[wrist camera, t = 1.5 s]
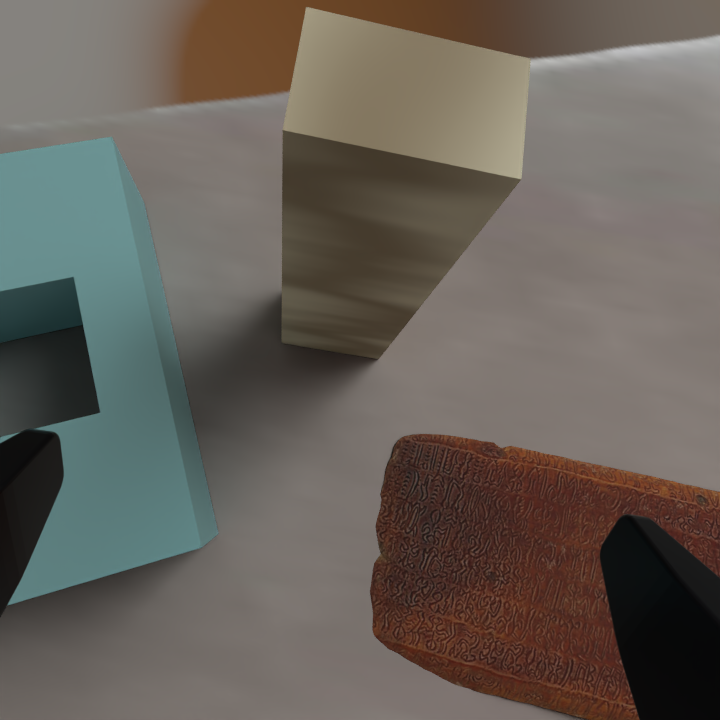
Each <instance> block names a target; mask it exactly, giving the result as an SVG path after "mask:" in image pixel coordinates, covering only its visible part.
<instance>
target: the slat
mask: <svg viewBox="0 0 720 720" xmlns="http://www.w3.org/2000/svg"><path fill="white" fill-rule="evenodd" d="M530 60H531V59H529V58H524V57H520V56H516V55H511V54H507V53H502V52H498V51H494V50H490V49H485V48H481V47H477V46H472V45H468V44H463V43H459V42H455V41H451V40H446V39H442V38H438V37H433V36H429V35H425V34H421V33H416V32H412V31H408V30H403V29H399V28H394V27H390V26H386V25H381V24H377V23H373V22H369V21H364V20H360V19H356V18H351V17H347V16H343V15H338V14H334V13H330V12H325V11H321V10H317V9H312V8H308V7H307V8H306V12H305V17H304V23H303V28H302V34H301V38H300V43H299V48H298V54H297V59H296V64H295V69H294V74H293V80H292V85H291V90H290V95H289V100H288V105H287V110H286V116H285V121H284V126H283V173H282V343H284V344H290V345H296V346H302V347H308V348H314V349H320V350H326V351H332V352H338V353H344V354H350V355H356V356H362V357H368V358H374V359H379V358H380V357H381V356H382V354H383V353H384V352H385V351H386V349H387V348H388V347H389V345H390V344H391V343H392V342H393V340H394V339H395V338H396V337H397V335H398V334H399V333H400V332H401V330H402V329H403V328H404V327H405V325H406V324H407V323H408V322H409V320H410V319H411V318H412V317H413V315H414V314H415V313H416V311H417V310H418V309H419V308H420V306H421V305H422V304H423V303H424V301H425V300H426V299H427V298H428V296H429V295H430V294H431V293H432V291H433V290H434V289H435V288H436V286H437V285H438V284H439V282H440V281H441V280H442V279H443V277H444V276H445V275H446V274H447V272H448V271H449V270H450V269H451V267H452V266H453V265H454V264H455V262H456V261H457V260H458V259H459V257H460V256H461V255H462V253H463V252H464V251H465V250H466V248H467V247H468V246H469V245H470V243H471V242H472V241H473V240H474V238H475V237H476V236H477V235H478V233H479V232H480V231H481V230H482V228H483V227H484V226H485V225H486V223H487V222H488V221H489V219H490V218H491V217H492V216H493V214H494V213H495V212H496V211H497V209H498V208H499V207H500V206H501V204H502V203H503V202H504V201H505V199H506V198H507V197H508V196H509V194H510V193H511V192H512V190H513V189H514V188H515V187H516V185H517V184H518V183H519V182H520V180H521V177H522V164H523V151H524V138H525V125H526V112H527V99H528V86H529V73H530Z"/></svg>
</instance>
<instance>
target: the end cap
mask: <svg viewBox="0 0 720 720" xmlns="http://www.w3.org/2000/svg"><path fill="white" fill-rule="evenodd" d="M81 325H83V327H84V332H85V337H86V342H87V347H88V352H89V357H90V362H91V368H92V373H93V378H94V383H95V388H96V393H97V398H98V403H99V408H100V413H97V414H93V415H89V416H85V417H81V418H76V419H72V420H68V421H64V422H60V423H56V424H52V425H48V426H44V427H40V428H35V429H38V430H45V431H52V432H55V433H57V434H58V436H59V438H60V442H61V450H62V459H63V467H64V478H63V483H62V486H61V489H60V491H59V494H58V496H57V498H56V501H55V503H54V505H53V508H52V510H51V512H50V515H49V517H48V519H47V522H46V524H45V526H44V529H43V531H42V533H41V535H40V538H39V540H38V542H37V545H36V547H35V549H34V552H33V554H32V556H31V559H30V561H29V563H28V566H27V568H26V570H25V572H24V574H23V577H22V579H21V581H20V583H19V585H18V586H17V588H16V590H15V592H14V594H13V596H12V598H11V599H10V601H9V603H8V605H11V604H14V603H17V602H21V601H24V600H27V599H31V598H34V597H37V596H41V595H44V594H47V593H51V592H54V591H58V590H61V589H64V588H68V587H71V586H74V585H78V584H81V583H84V582H88V581H91V580H95V579H98V578H101V577H105V576H108V575H111V574H115V573H118V572H121V571H125V570H128V569H131V568H135V567H138V566H142V565H145V564H148V563H152V562H155V561H158V560H162V559H165V558H168V557H172V556H175V555H179V554H182V553H185V552H189V551H192V550H195V549H199V548H202V547H203V546H204V545H205V544H207V543H208V542H209V541H210V540H212V539H213V538H214V537H215V536H216V535H218V529H217V525H216V520H215V516H214V512H213V507H212V503H211V498H210V494H209V489H208V485H207V480H206V476H205V471H204V467H203V463H202V458H201V454H200V449H199V445H198V440H197V436H196V431H195V427H194V422H193V418H192V414H191V409H190V405H189V400H188V396H187V391H186V387H185V382H184V378H183V374H182V369H181V365H180V360H179V356H178V351H177V347H176V342H175V338H174V333H173V329H172V325H171V320H170V316H169V311H168V307H167V302H166V298H165V293H164V289H163V285H162V280H161V276H160V271H159V267H158V262H157V258H156V253H155V249H154V244H153V240H152V236H151V231H150V227H149V222H148V218H147V213H146V209H145V204H144V201H143V199H142V197H141V195H140V193H139V191H138V189H137V187H136V185H135V183H134V181H133V179H132V177H131V175H130V173H129V171H128V169H127V167H126V165H125V163H124V161H123V158H122V156H121V154H120V152H119V150H118V148H117V146H116V144H115V142H114V140H113V138H112V137H107V138H101V139H94V140H88V141H81V142H75V143H69V144H62V145H56V146H49V147H43V148H36V149H30V150H23V151H17V152H10V153H4V154H0V343H1V342H6V341H11V340H15V339H20V338H25V337H29V336H34V335H39V334H43V333H48V332H53V331H57V330H62V329H67V328H71V327H76V326H81ZM19 433H20V432H19ZM16 434H18V433H15V434H11V435H7V436H3V437H0V443H1V442H3V441H5V440H7V439H9V438H11V437H12V436H14V435H16Z"/></svg>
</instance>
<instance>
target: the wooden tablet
mask: <svg viewBox="0 0 720 720" xmlns="http://www.w3.org/2000/svg"><path fill="white" fill-rule="evenodd" d="M380 495H381V499H382V501H381V509H380V512H379V515H378V518H377V522H376V532H377V538H378V544H379V549H380V552H381V555H380V556H379V558H378V559H377V560H376V562H375V563H374V568H373V574H372V582H371V589H370V595H371V602H372V608H373V633H374V635H375V637H376V638H377V639H378V640H379V641H380V642H381V643H383V644H384V645H385V646H386V647H387V648H388V649H390V650H392V651H394V652H396V653H398V654H400V655H401V656H403V657H404V658H406V659H408V660H409V661H411V662H413V663H415V664H417V665H419V666H420V667H422V668H423V669H425V670H428V671H430V672H432V673H434V674H436V675H438V676H439V677H441V678H443V679H445V680H447V681H449V682H451V683H453V684H455V685H458V686H462V687H465V688H470V689H472V690H474V691H478V692H481V693H485V694H490V695H496V696H500V697H504V698H507V699H511V700H515V701H519V702H524V703H529V704H533V705H537V706H540V707H543V708H547V709H551V710H555V711H559V712H562V713H566V714H569V715H573V716H576V717H581V718H585V719H588V720H639V717H638V714H637V710H636V707H635V704H634V701H633V697H632V694H631V691H630V687H629V684H628V681H627V678H626V674H625V671H624V668H623V664H622V661H621V657H620V654H619V650H618V646H617V642H616V637H615V633H614V628H613V623H612V618H611V613H610V608H609V603H608V598H607V593H606V588H605V583H604V578H603V573H602V568H601V563H600V549H601V546H602V544H603V542H604V541H605V539H606V537H607V536H608V534H609V533H610V531H611V530H612V528H613V526H614V525H615V523H616V522H617V520H618V519H619V518H620V517H621V516H623V515H624V514H631V515H638V516H645V517H648V518H650V519H652V520H653V521H654V522H655V523H656V524H658V525H659V526H660V527H661V528H662V529H663V530H665V531H666V532H667V533H668V534H669V535H670V536H672V537H673V538H674V539H675V540H676V541H678V542H679V543H680V544H681V545H682V546H683V547H685V548H686V549H687V550H688V551H689V552H690V553H692V554H693V555H694V556H695V557H696V558H697V559H699V560H700V561H701V562H702V563H703V564H705V565H706V566H707V567H708V568H709V569H710V570H712V571H713V572H714V573H715V574H716V575H717V576H719V577H720V492H717V491H712V490H707V489H703V488H699V487H695V486H690V485H685V484H680V483H677V482H673V481H668V480H664V479H660V478H656V477H652V476H647V475H642V474H637V473H633V472H628V471H623V470H619V469H614V468H610V467H605V466H601V465H595V464H590V463H586V462H581V461H576V460H572V459H568V458H564V457H560V456H554V455H549V454H543V453H540V452H536V451H531V450H526V449H522V448H518V447H513V446H508V447H505V448H500V447H498V446H497V445H496V444H495V443H492V442H483V441H478V440H473V439H467V438H461V437H455V436H447V435H431V434H416V435H409V436H405V437H402V438H401V439H400V440H399V441H398V442H397V443H396V445H395V446H394V450H393V454H392V458H391V459H390V461H389V462H388V465H387V468H386V472H385V480H384V484H383V487H382V491H381V494H380Z"/></svg>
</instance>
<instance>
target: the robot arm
mask: <svg viewBox="0 0 720 720" xmlns="http://www.w3.org/2000/svg"><path fill="white" fill-rule="evenodd" d="M63 478H64V467H63V459H62V450H61V442H60V438H59V436H58V434H57V433H55V432H52V431H45V430H38V429H27V430H24V431H22V432H20V433H18V434H16V435H14V436H12V437H11V438H9V439H7V440H5V441H3V442H1V443H0V617H1V615H2V613H3V612H4V610H5V608H6V606H7V605H8V603H9V601H10V599H11V598H12V596H13V594H14V592H15V590H16V588H17V586H18V585H19V583H20V581H21V579H22V577H23V574H24V572H25V570H26V568H27V566H28V563H29V561H30V559H31V556H32V554H33V552H34V549H35V547H36V545H37V542H38V540H39V538H40V535H41V533H42V531H43V529H44V526H45V524H46V522H47V519H48V517H49V515H50V512H51V510H52V508H53V505H54V503H55V501H56V498H57V496H58V494H59V491H60V489H61V486H62V483H63ZM600 563H601V568H602V573H603V578H604V583H605V588H606V593H607V598H608V603H609V608H610V613H611V618H612V623H613V628H614V633H615V637H616V642H617V646H618V650H619V654H620V657H621V661H622V664H623V668H624V671H625V674H626V678H627V681H628V684H629V687H630V691H631V694H632V697H633V701H634V704H635V707H636V710H637V714H638V717H639V720H720V577H719V576H717V575H716V574H715V573H714V572H713V571H712V570H710V569H709V568H708V567H707V566H706V565H705V564H703V563H702V562H701V561H700V560H699V559H697V558H696V557H695V556H694V555H693V554H692V553H690V552H689V551H688V550H687V549H686V548H685V547H683V546H682V545H681V544H680V543H679V542H678V541H676V540H675V539H674V538H673V537H672V536H670V535H669V534H668V533H667V532H666V531H665V530H663V529H662V528H661V527H660V526H659V525H658V524H656V523H655V522H654V521H653V520H652V519H650V518H648V517H645V516H638V515H631V514H624V515H623V516H621V517H620V518H619V519H618V520H617V522H616V523H615V525H614V526H613V528H612V530H611V531H610V533H609V534H608V536H607V537H606V539H605V541H604V542H603V544H602V546H601V549H600Z"/></svg>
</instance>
